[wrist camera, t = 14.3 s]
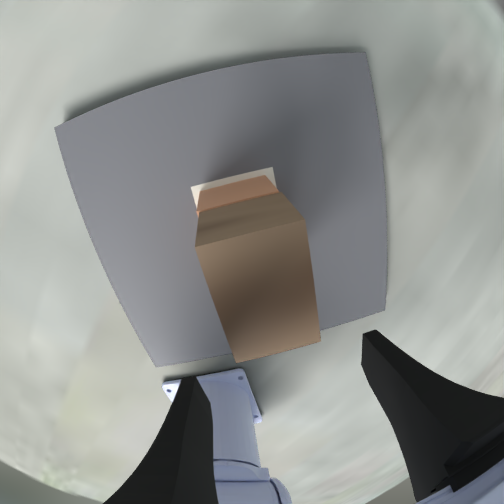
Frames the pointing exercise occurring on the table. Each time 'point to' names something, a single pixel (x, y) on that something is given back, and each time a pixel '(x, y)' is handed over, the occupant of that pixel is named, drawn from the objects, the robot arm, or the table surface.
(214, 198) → the brick terracotta
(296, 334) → the brick walnut
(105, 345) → the table surface
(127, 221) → the tower board
